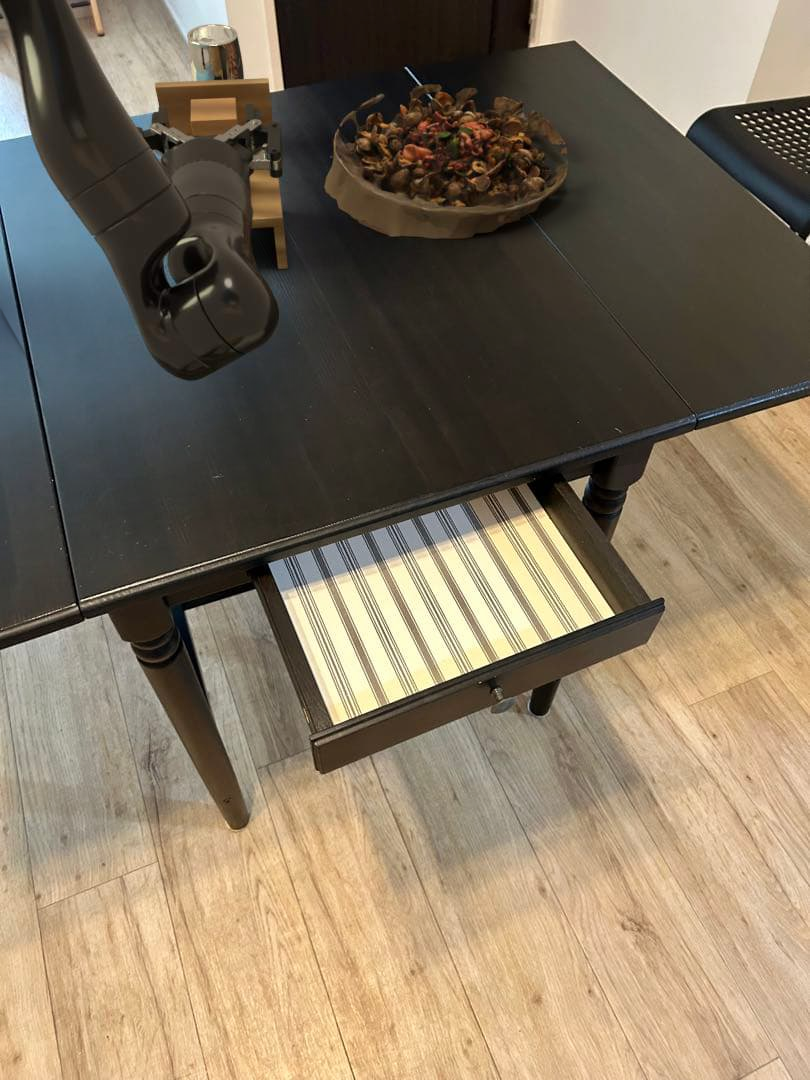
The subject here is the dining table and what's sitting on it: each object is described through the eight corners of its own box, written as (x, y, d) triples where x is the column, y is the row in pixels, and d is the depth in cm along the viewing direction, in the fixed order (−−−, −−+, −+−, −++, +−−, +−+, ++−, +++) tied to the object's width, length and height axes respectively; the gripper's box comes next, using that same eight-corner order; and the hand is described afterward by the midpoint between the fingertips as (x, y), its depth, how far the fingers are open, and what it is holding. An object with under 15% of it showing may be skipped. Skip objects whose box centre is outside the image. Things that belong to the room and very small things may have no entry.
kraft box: (248, 203, 99) (236, 118, 91) (205, 205, 98) (190, 120, 90) (246, 181, 101) (235, 97, 94) (205, 183, 101) (190, 99, 93)
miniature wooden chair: (287, 268, 102) (274, 132, 89) (181, 275, 101) (151, 138, 88) (281, 211, 110) (268, 77, 97) (182, 216, 109) (155, 82, 95)
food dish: (473, 102, 132) (480, 50, 126) (611, 203, 116) (626, 148, 110) (279, 151, 119) (276, 95, 113) (404, 271, 103) (408, 214, 97)
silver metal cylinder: (218, 131, 123) (201, 19, 111) (260, 140, 121) (248, 28, 109) (195, 153, 119) (175, 40, 107) (239, 162, 117) (224, 49, 105)
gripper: (285, 158, 71) (275, 72, 81) (116, 166, 70) (126, 77, 79) (292, 236, 77) (281, 147, 87) (136, 244, 76) (143, 153, 85)
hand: (207, 114), depth 83 cm, fingers open, 8 cm apart
